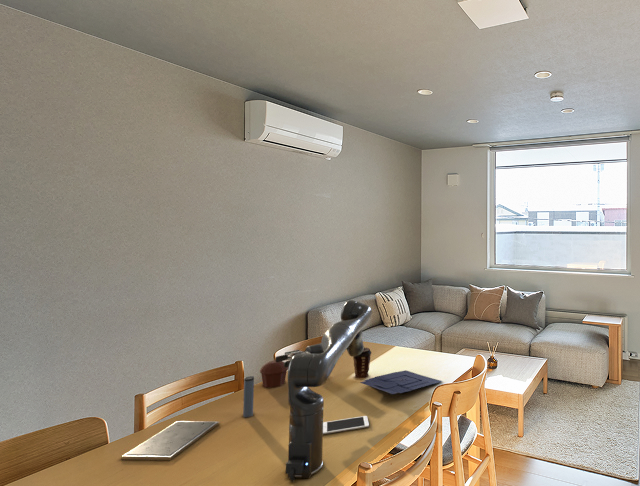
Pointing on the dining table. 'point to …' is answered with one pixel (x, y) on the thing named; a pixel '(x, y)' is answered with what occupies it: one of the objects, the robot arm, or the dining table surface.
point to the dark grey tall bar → (248, 396)
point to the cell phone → (345, 424)
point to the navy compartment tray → (399, 382)
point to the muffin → (273, 374)
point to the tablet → (170, 441)
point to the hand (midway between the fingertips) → (279, 362)
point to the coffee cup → (362, 364)
